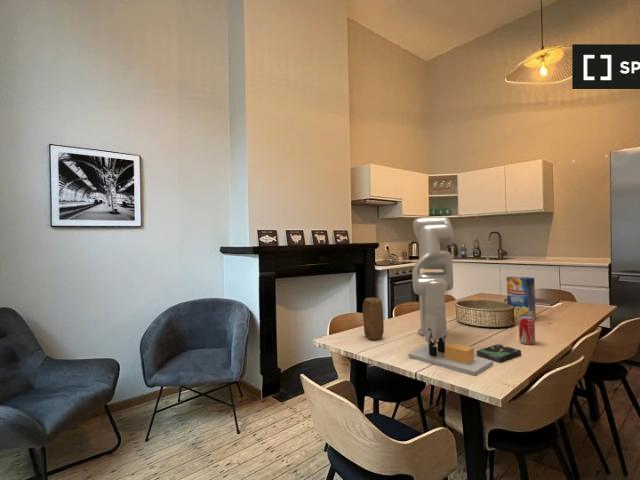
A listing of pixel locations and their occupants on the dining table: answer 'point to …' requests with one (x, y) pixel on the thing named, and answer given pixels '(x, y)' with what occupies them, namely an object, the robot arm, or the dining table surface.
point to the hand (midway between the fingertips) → (437, 353)
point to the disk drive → (498, 353)
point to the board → (440, 360)
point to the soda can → (526, 330)
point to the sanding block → (459, 353)
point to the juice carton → (521, 296)
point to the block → (373, 318)
